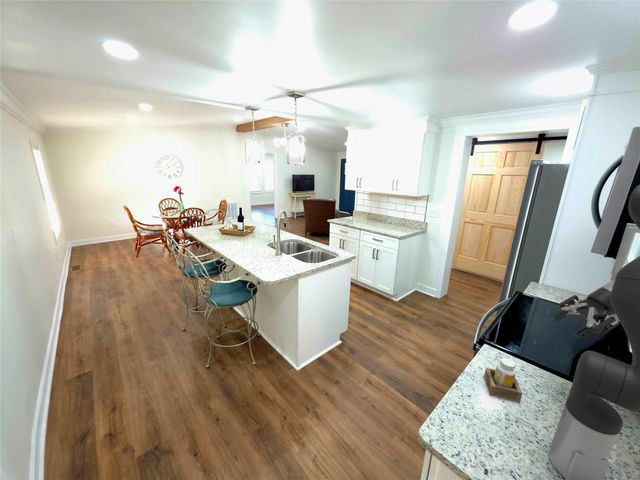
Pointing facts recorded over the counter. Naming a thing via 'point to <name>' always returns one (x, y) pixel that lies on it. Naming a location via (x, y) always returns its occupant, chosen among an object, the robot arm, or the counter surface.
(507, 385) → the supplement bottle
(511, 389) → the brown square tray
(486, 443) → the counter surface
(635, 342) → the robot arm
